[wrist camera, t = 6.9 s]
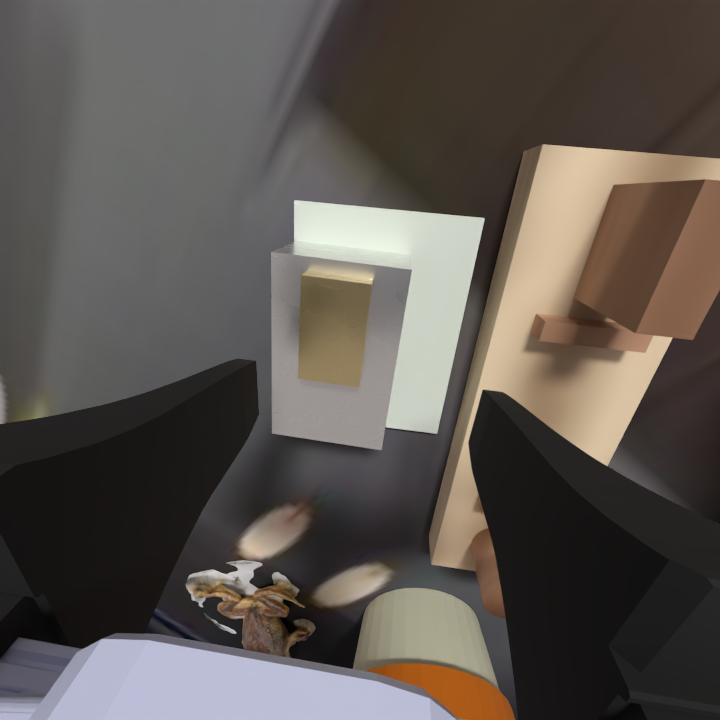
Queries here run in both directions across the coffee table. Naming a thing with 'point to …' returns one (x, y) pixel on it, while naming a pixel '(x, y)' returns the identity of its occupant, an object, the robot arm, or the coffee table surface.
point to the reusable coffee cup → (432, 651)
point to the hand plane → (581, 311)
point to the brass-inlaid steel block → (335, 340)
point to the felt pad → (410, 292)
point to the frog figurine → (252, 607)
